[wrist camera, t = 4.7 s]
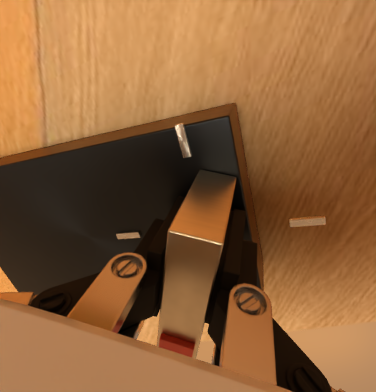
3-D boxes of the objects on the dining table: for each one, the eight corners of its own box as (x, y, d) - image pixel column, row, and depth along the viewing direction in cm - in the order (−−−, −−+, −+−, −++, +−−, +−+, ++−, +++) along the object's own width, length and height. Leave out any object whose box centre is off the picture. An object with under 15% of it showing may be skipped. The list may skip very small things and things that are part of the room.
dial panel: (306, 83, 11) (320, 92, 9) (317, 263, 15) (329, 307, 13) (-20, 160, 18) (-68, 179, 15) (49, 270, 22) (20, 299, 20)
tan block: (199, 168, 11) (164, 235, 7) (237, 176, 11) (222, 249, 7) (184, 268, 14) (153, 355, 10) (213, 276, 14) (193, 368, 10)
